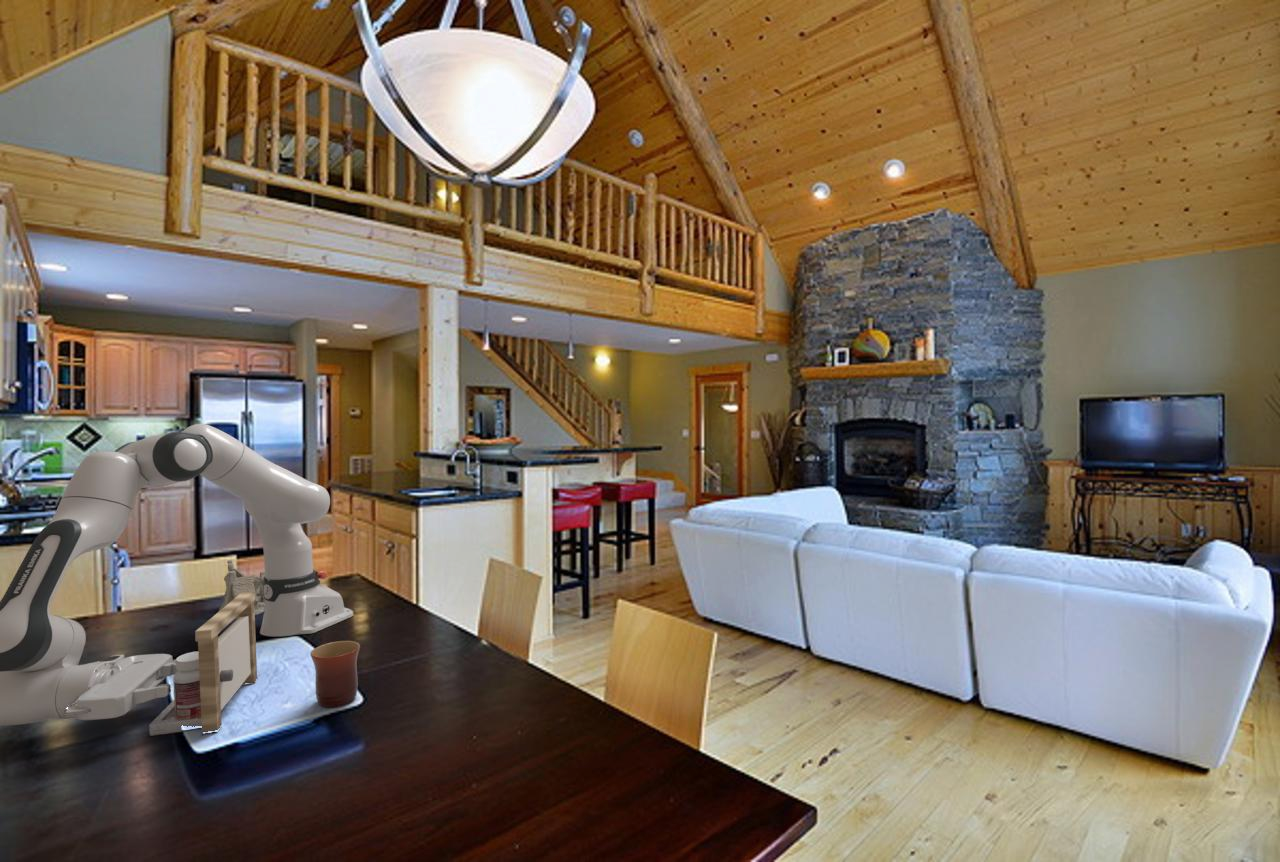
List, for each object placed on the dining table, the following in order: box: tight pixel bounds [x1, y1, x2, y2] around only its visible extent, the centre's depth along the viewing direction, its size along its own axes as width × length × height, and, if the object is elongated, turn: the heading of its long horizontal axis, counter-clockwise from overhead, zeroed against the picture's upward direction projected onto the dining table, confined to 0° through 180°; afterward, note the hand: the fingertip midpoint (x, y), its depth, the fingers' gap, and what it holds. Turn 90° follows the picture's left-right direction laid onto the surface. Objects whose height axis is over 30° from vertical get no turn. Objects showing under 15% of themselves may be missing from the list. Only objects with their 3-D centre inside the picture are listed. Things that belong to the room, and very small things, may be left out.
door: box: [218, 616, 251, 711], centre depth 123 cm, size 18×3×12 cm, turn 16°
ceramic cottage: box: [218, 559, 265, 620], centre depth 183 cm, size 16×16×15 cm
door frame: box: [194, 591, 258, 733], centre depth 122 cm, size 25×2×19 cm, turn 16°
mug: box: [310, 640, 361, 708], centre depth 125 cm, size 12×9×10 cm
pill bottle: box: [173, 651, 201, 719], centre depth 118 cm, size 6×6×11 cm
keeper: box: [148, 699, 202, 737], centre depth 118 cm, size 10×9×2 cm
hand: (180, 679), depth 117 cm, fingers open, 8 cm apart
